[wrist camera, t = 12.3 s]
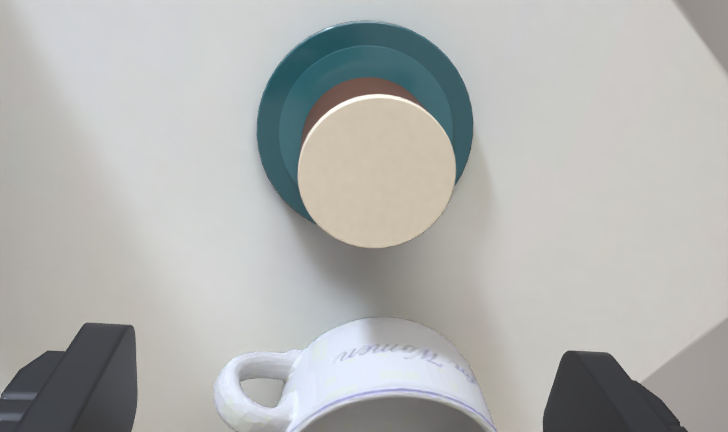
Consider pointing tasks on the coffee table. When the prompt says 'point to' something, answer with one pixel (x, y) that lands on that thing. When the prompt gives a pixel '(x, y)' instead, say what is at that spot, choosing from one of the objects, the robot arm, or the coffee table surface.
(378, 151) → the cake
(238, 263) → the coffee table surface
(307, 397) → the teacup
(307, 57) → the cake plate
